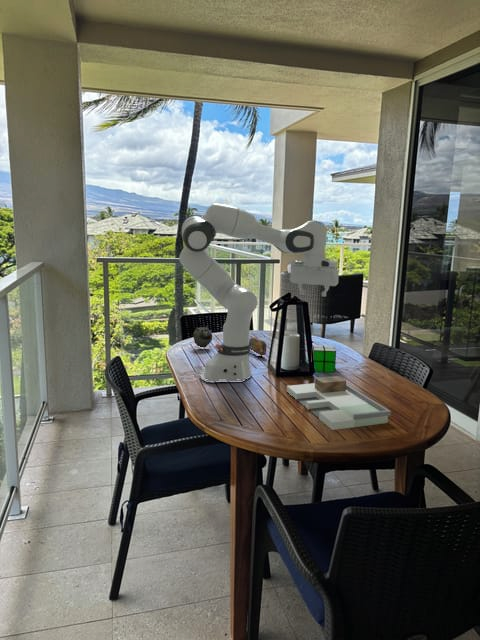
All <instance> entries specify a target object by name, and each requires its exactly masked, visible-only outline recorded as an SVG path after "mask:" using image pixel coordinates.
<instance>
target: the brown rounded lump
mask: <svg viewBox="0 0 480 640" xmlns="http://www.w3.org/2000/svg"><path fill="white" fill-rule="evenodd" d="M249 344H250V349H251V350H253V351H254V352H256V353H258V354H260V355H261V356H262V355H265V356H266V354H267V343H266V342H265V341H264V340H262V339H261V338H259V337H258V338H257V337H250V338H249Z"/></svg>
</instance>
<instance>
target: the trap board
mask: <svg viewBox="0 0 480 640" xmlns="http://www.w3.org/2000/svg"><path fill="white" fill-rule="evenodd" d="M287 392H288V393H289V396H291V397H292V396H293V397H294V398H295V399H294V398H293V397H292V398H293V399H294V400H296V401H297V402H298V401H299V402H300V403H301V405H302V404H303V405H304V406H305V407H306V408H307V409H306V408H305V407H304V406H303V405H302V406H303V407H304V408H305V409H306V410H308V409H309V410H310V411H311V412H312V413H313V414H312V413H311V412H310V411H309V410H308V411H309V412H310V413H311V414H312V415H314V416H315V417H316V418H317V417H318V418H319V419H318V418H317V419H318V420H320V421H321V423H323V424H324V425H326V426H327V427H328V428H329V429H330V430H331V431H335V430H341V429H342V430H343V429H350V428H351V429H352V428H358V427H367V426H374V425H382V424H388V422H389V421H388V419H389V417H390V416H391V413H392V411H391V410H390V409H389V408H387V407H385V406H383V405H382V404H380V403H378V402H376V401H375V400H373V399H371V398H370V397H368V396H367V395H365V394H364V393H362V392H360V391H358V390H357V389H355V388H354V387H352V386H351V385H349V384H348V383H346V391H338V392H329V393H321V392H320V391H318V390H317V389H316V388H315V382H313V383H304V384H293V385H286V393H287ZM288 393H287V394H288ZM299 402H298V403H299ZM300 403H299V404H300Z"/></svg>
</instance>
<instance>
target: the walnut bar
mask: <svg viewBox="0 0 480 640" xmlns="http://www.w3.org/2000/svg"><path fill="white" fill-rule="evenodd" d="M314 383H315V388H316V389H317V390H318V391H320V392H321V393H329V392H338V391H346V384H347V379H345V378H343V377H341V376H339V375H335V376H332V375H331V376H323V377H315V378H314Z"/></svg>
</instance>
